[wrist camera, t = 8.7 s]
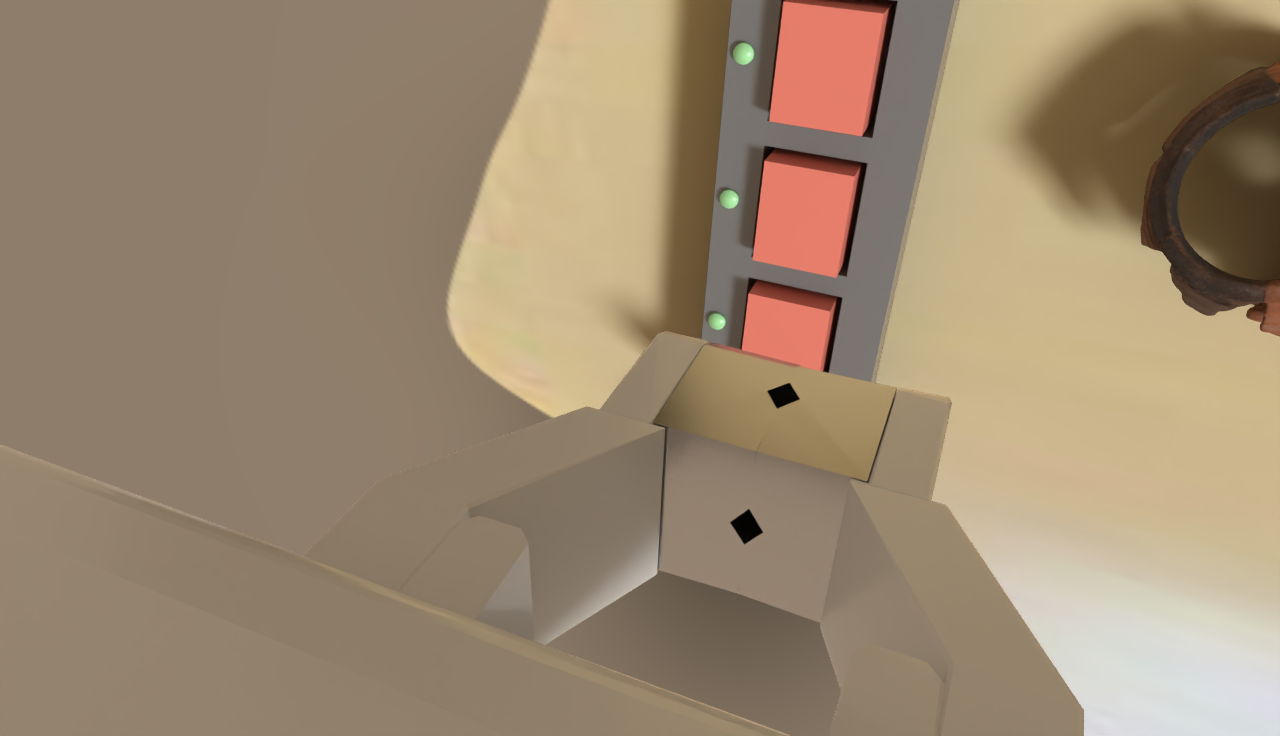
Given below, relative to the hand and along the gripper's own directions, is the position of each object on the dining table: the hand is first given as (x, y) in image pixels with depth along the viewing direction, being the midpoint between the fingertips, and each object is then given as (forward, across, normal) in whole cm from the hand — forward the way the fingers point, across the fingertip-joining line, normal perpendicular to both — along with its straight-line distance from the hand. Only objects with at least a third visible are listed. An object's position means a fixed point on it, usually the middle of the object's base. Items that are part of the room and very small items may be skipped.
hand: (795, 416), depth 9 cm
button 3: (+29, +5, +16) cm, 33 cm away
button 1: (+29, +5, +4) cm, 30 cm away
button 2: (+29, +5, +10) cm, 31 cm away
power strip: (+30, +5, +8) cm, 31 cm away
